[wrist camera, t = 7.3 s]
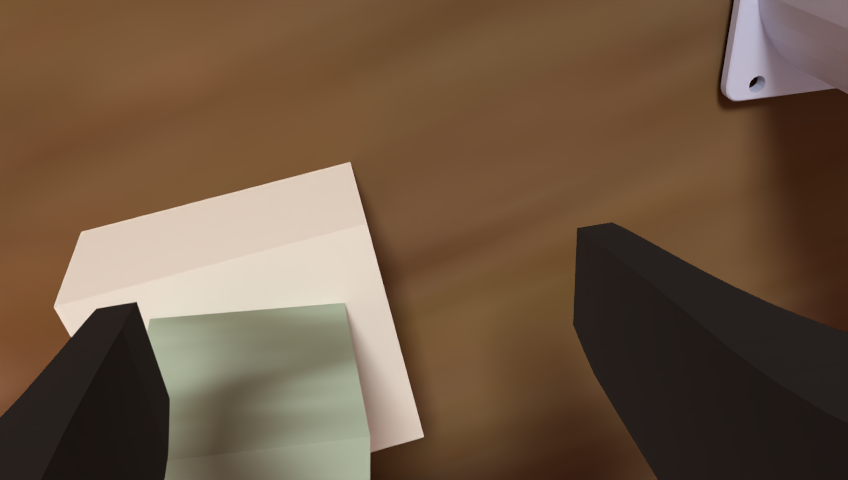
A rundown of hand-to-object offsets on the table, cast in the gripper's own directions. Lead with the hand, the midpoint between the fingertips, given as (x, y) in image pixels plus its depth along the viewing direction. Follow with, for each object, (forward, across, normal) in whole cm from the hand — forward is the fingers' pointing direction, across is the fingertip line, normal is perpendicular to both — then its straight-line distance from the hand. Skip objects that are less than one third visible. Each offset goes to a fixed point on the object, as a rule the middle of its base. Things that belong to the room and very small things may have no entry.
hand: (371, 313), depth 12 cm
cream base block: (+11, +3, +7) cm, 13 cm away
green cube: (+7, +3, +7) cm, 10 cm away
